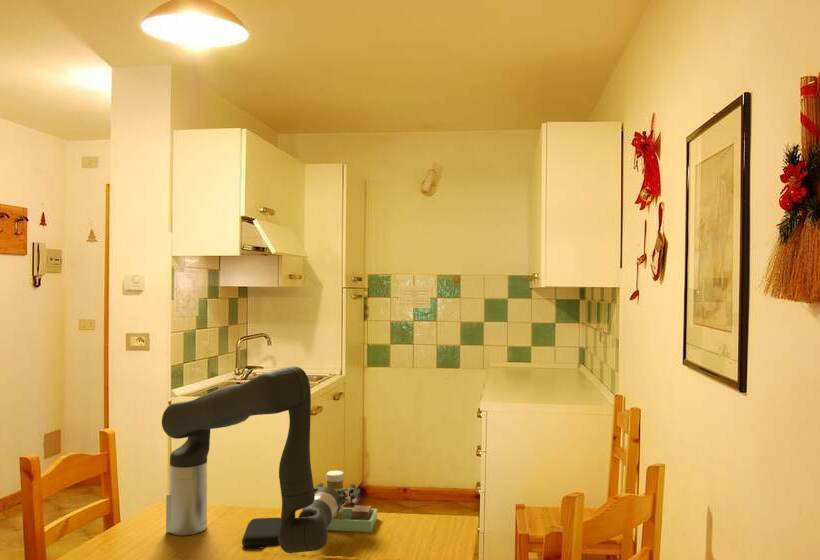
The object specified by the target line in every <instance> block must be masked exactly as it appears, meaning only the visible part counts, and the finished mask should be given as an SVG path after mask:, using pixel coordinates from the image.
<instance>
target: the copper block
mask: <svg viewBox="0 0 820 560" xmlns="http://www.w3.org/2000/svg"><path fill="white" fill-rule="evenodd" d="M352 508H353V509H352V511H351V520H369V519H370V517H371V509H372V505H357V504H356V505H355V506H352Z"/></svg>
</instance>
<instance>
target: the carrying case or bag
mask: <svg viewBox="0 0 820 560" xmlns="http://www.w3.org/2000/svg"><path fill="white" fill-rule="evenodd" d="M280 521H281V517H259V518H252V519H251V520H250V521H249V522H248V524H247V526H246V528H245V532H244V535H243V537H242V540H241V544H242V546H243V547H244V548H245V547H246V549H259V547H263V549H264V548H265V547H266V548H267V546H269V547H270V546H277V545H279V540H278V535H279V528H280Z"/></svg>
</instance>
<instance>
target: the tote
mask: <svg viewBox="0 0 820 560" xmlns="http://www.w3.org/2000/svg"><path fill="white" fill-rule="evenodd" d="M352 509H353V507H343V519H333V521H332V522H331V523H330V524H329V525H328V527H327V531H342V532H344V531H345V532H362V533H363V532H364V533H365V532H367V533H371V532H372V531H373V529H374V526H375V524H376V523H377V520H378V508H371V517H370V519H369V520H351V511H352Z"/></svg>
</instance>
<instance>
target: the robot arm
mask: <svg viewBox="0 0 820 560" xmlns="http://www.w3.org/2000/svg"><path fill="white" fill-rule="evenodd" d="M311 395H312V394H311V384H310V380H309V377H308V375H307V373H306V371H304V370H303V369H302V368H301V367H299V366H295V365H292V366H289V367H288V366H287V367H282V368H277V369H273V370H269V371H265V372H263V373H261V374H259V375H257V376H255V377H254V378H251V379H250V380H248V381H246V382H244V383H242V384H239V383H238V384H236V383H235V384H230V385H227V386H223V387H221V388H218V389H216V390H213V391H211V392H208V393H206V394H203V395H201V396H198V397H197V398H195V399H192V400H185V401H179V402H174V403H172V404H169V405H168V406H167V407H166V408H165V410H164V411H163V414H162V417H161V427H162V429H163V431H164V433H165V434H166V435H167V436H168V437H169V438H172V439H175V440H176V439H177V440H179V439H185V438H187V439H186V441H185V442H184V443H183V444H182V445H181V446H179V447H177V448H176V449H175V450H173V451H172V452H171V453H170V455H169V493H168V494H166V496H165V497H166V502H165V503H166V505H165V510H166V511H165V532H166V533H168V534H169V533H170V534H172V535H175V536H191V535H197V534H200V533H202V532H203V531H205V530H206V529H207V527H208V455H209V452H210V445H211V443H210V442H211V430H215V429H220V428H226V427H228V428H229V427H232V426H234V425H238V424H241V423H243V422H245V421H246V420H247V419H249V418H250V417H251V416H258V415H259V416H262V415H275V414H280V413H283V412H286V411H288V417H289V425H288V432H287V438H286V440H285V444H284V447H283V450H282V453H281V456H280V461H279V466H278V479H279V480H278V481H279V487H280V495H281V514H280V518H281V521H280V528H279V535H278V540H279V544H278V545H279V547H280V548H281V550H282V551H283V552H285V554H286V553H287V554H296V553H306V552H316V551H319V550H322V548H324V547H325V546H326V544H327V543H328V538H329V536H328V534H329V532H328V531H329V530H327V527H328V525H329V524H330V523H331V522H332V521H333V519H334V518H335V516H336V515H337V513H338V512H339V510H340V508H341V505H343V506H344V504H346V503H349V504H350V506H351V507H354V506H355V505H357V503H358V502H359V501H360V500H361V489H360V488H357V486H356V485H355V483H351V484H350V485H349V487H348V488H345V487H343V488H342V489H338V490H336V489H335V490H334V489H332V488H330V487H327V486H324V482H319V484H316V486H314V481H313V480H314V479H313V470H312V464H311V413H312V412H311V411H312V410H311V409H312V408H311V405H312V401H311V399H312V396H311ZM341 492H343V494H342V493H341ZM300 510H301V511H300ZM298 511H300V513H299V514H298V517H296V513H297V512H298Z"/></svg>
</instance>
